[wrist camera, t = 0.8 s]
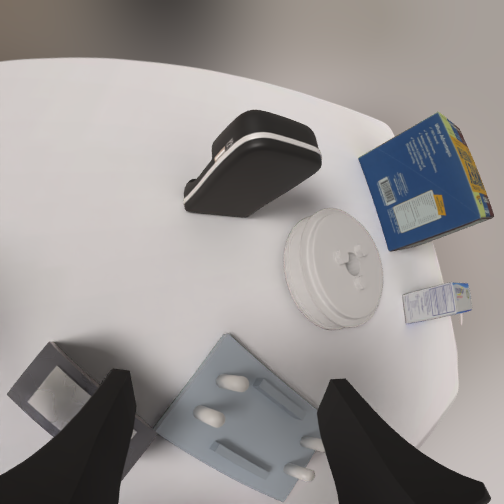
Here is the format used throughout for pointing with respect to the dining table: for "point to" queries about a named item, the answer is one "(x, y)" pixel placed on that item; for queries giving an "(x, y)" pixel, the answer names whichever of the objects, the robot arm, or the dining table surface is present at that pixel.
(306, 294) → the lid
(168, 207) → the dining table surface
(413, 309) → the medicine box
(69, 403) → the block
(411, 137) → the protein box
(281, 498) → the gray peg board
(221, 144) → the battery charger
